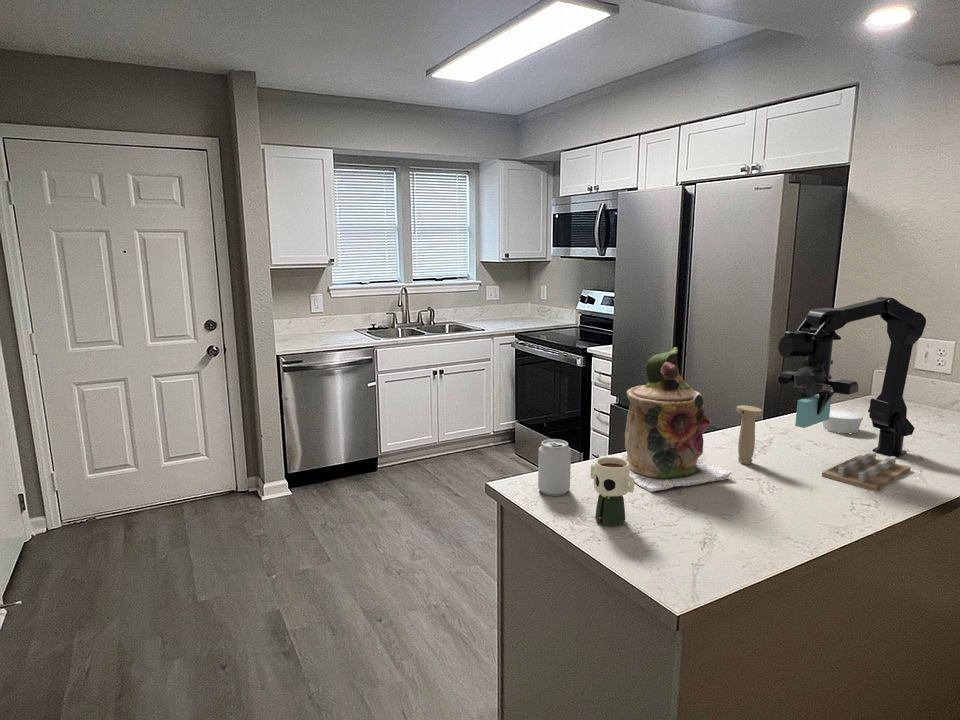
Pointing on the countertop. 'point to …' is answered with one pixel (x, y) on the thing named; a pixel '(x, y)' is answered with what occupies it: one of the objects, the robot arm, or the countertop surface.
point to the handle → (747, 432)
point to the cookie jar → (666, 430)
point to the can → (554, 467)
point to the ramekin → (843, 421)
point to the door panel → (811, 412)
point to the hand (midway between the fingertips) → (813, 413)
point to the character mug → (611, 488)
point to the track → (867, 471)
